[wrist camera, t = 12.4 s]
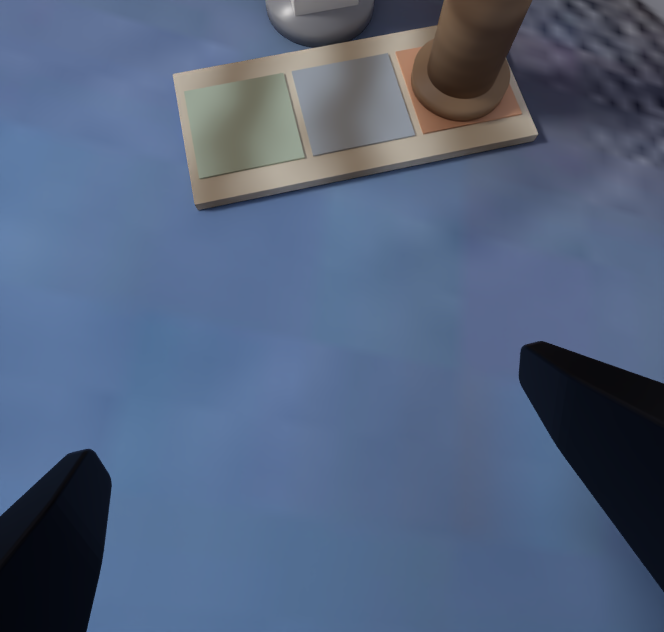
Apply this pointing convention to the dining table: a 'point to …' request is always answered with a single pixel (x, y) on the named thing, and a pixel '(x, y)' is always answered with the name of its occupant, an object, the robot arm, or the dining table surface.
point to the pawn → (468, 58)
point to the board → (324, 119)
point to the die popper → (319, 20)
